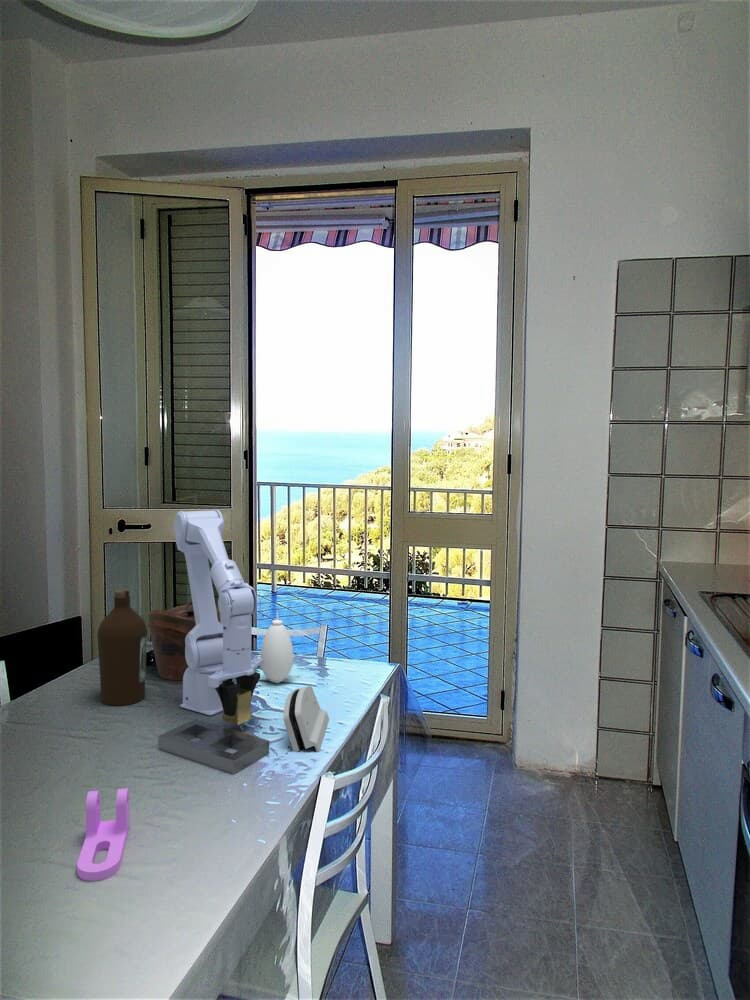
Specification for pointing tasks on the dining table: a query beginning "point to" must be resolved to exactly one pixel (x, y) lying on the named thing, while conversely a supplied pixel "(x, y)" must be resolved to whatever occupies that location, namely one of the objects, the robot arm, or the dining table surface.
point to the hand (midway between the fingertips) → (236, 711)
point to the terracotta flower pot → (172, 638)
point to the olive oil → (122, 653)
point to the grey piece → (304, 719)
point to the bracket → (104, 837)
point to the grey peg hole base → (214, 745)
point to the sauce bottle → (277, 652)
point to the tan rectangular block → (240, 708)
